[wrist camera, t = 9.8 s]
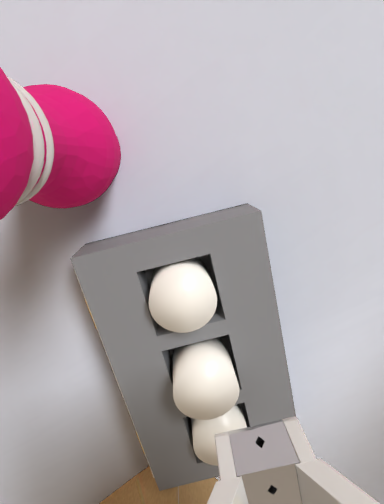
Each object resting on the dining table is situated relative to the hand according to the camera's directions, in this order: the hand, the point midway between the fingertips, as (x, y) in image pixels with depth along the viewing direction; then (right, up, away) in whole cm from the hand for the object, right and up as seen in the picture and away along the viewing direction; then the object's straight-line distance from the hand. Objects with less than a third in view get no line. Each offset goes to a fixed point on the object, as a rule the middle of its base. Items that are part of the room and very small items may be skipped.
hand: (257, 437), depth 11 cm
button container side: (0, -9, +19) cm, 21 cm away
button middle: (-2, -3, +16) cm, 16 cm away
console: (-2, -2, +18) cm, 18 cm away
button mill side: (-3, +4, +15) cm, 16 cm away
